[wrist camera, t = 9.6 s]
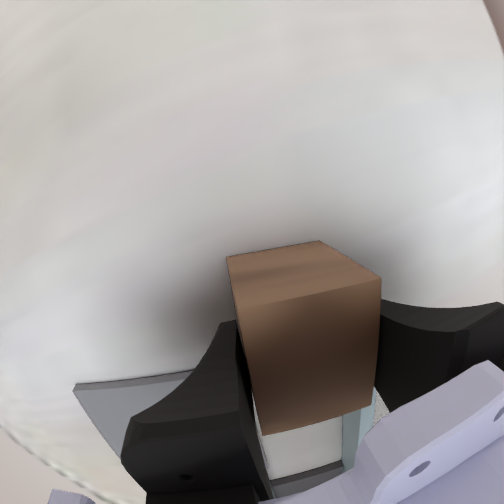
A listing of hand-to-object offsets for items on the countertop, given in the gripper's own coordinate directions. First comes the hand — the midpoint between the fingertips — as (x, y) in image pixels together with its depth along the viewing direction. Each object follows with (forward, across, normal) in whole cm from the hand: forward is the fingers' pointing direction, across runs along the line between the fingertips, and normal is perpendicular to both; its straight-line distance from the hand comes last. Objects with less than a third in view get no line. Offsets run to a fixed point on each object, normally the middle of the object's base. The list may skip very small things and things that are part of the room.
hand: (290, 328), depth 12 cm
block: (+1, 0, 0) cm, 1 cm away
